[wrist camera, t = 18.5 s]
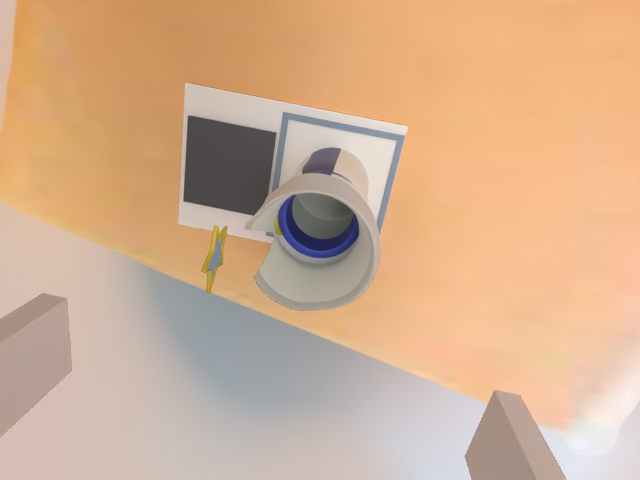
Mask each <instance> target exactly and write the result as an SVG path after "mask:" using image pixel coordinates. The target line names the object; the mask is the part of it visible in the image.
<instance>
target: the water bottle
mask: <svg viewBox="0 0 640 480" xmlns="http://www.w3.org/2000/svg"><path fill="white" fill-rule="evenodd" d="M368 189H369V180H368V175H367V171H366V169H365V167H364V165H363V164H362V162H361V161H360V160H359V159H358V158H357V157H356V156H355V155H354V154H352V153H350V152H349V151H347V150H344V149H340V148H333V147H330V148H323V149H320V150H317V151H315V152H313V153H312V154H310V155H309V156H308V157H307V158H306V159H305V160H304V161H303V162H302V164H301V165H300V167H299V169H298V170H297V171H296V173H295V174H294V175H293V176H292V178H291V179H290V180H288V181H286V182H285V183H284V184H282V185H281V186H280V187H279V188H277V189H276V190H275V191H273V192H272V193H270V194H269V195H268V196H267V198H266V200H265V202H264V204H263V205H262V207H261V208H260V209H259V210H258V212H257V213H256V214H255V215H254V216H253V217H252V218H251V219H250V220H249V221H248V223H247V224H246V226H245V228H244V229H246V230H254V231H265V232H272V233H273V234H274V236H275V238H274V241H273V243H272V245H271V248H270V250H269V252H268V254H267V256H266V258H265V260H264V262H263V264H262V265H261V267H260V269H259V270H258V272H257V273H256V275H255V276H254V279H255V281H256V283H257V284H258V286H259V287H260V289H261V290H262V291H263V292H264V293H265V294H266V295H267V296H269V297H270V298H271V299H272V300H274V301H275V302H277V303H279V304H281V305H283V306H285V307H287V308H290V309H294V310H300V311H316V310H326V309H332V308H337V307H340V306H343V305H345V304H348V303H350V302H352V301H354V300H355V299H357V298H358V297H359V296H361V295H362V294H363V293H364V292H365V290H366V289H367V288H368V287H369V285H370V284H371V282H372V280H373V278H374V276H375V273H376V271H377V268H378V264H379V259H380V236H379V231H378V227H377V223H376V220H375V218H374V215H373V213H372V211H371V209H370V208H369V206H368ZM301 193H318V194H323V195H327V196H330V197H333V198H335V199H337V200H339V201H341V202H342V203H344V204H345V205H347V206H348V207H349V208H350V209H352V211H353V214H352V215H351V216H349V217H347V218H344V219H340V220H324V219H321V218H318V217H316V216H314V215H312V214H311V213H310V212H308V211H307V210H306V209H305V208H304V207H303V205H302V204H301V202H300V200H299V198H298V196H297V194H301ZM227 228H228V227H227V226H224V227H223V229H222V231H221V232H220V233H219V227H218V226H216V225H215V226H214V228H213V234H212V240H211V247H210V251H209V254H208V256H207V259H206V261H205V263H204V266H203V268H202V272H204V273H206V272H207V288H206V292H207V293H210V292H211V288H212V285H213V282H214V278H215V274H216V271H217V268H218V267H219V266H220V265H222V264H223V246H224V242H225V238H226V233H227Z"/></svg>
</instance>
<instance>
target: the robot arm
mask: <svg viewBox="0 0 640 480" xmlns="http://www.w3.org/2000/svg"><path fill="white" fill-rule="evenodd" d="M71 371H72V362H71V347H70V334H69V319H68V306H67V299H66V298H63V297H58V296H53V295H49V294H44V293H43V294H41V295H39V296H37V297H36V298H34V299H32V300H31V301H29V302H28V303H26V304H24V305H23V306H21V307H19V308H18V309H16V310H14V311H13V312H11V313H9V314H8V315H6V316H4V317H3V318H1V319H0V437H1V436H2V435H3V434H4V433H5V432H7V431H8V429H10V428H11V427H12V426H13V425H14V424H15V423H16V422H17V421H18V420H19V419H21V417H23V416H24V415H25V414H26V413H27V412H28V411H29V410H30V409H31V408H32V407H33V406H34V405H35V404H36V403H38V402H39V401H40V400H41V399H42V398H43V397H44V396H45V395H46V394H47V393H48V392H49V391H50V390H51V389H53V388H54V387H55V386H56V385H57V384H58V383H59V382H60V381H61V380H62V379H63V378H64V377H65V376H66V375H68V374H69V373H70V372H71ZM465 459H466V462H467V465H468V468H469V472H470V475H471V479H472V480H567V479H566V477H565V476H564V474H563V472H562V470H561V468H560V466H559V465H558V463H557V461H556V459H555V457H554V456H553V454H552V452H551V450H550V449H549V447H548V445H547V443H546V441H545V439H544V437H543V436H542V434H541V432H540V430H539V428H538V427H537V425H536V423H535V421H534V419H533V418H532V416H531V414H530V412H529V410H528V409H527V407H526V405H525V403H524V401H523V400H522V398H521V396H520V395H516V394H511V393H507V392H502V391H497V390H494V392H493V394H492V396H491V399H490V401H489V403H488V405H487V408H486V410H485V412H484V414H483V417H482V419H481V421H480V423H479V426H478V428H477V430H476V432H475V435H474V437H473V439H472V441H471V444H470V446H469V448H468V450H467V452H466V455H465Z"/></svg>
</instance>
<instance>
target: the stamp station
mask: <svg viewBox="0 0 640 480" xmlns="http://www.w3.org/2000/svg"><path fill="white" fill-rule="evenodd" d="M407 129H408V126H405V125H399V124H394V123H389V122H384V121H379V120H374V119H369V118H364V117H359V116H354V115H349V114H343V113H338V112H333V111H328V110H323V109H318V108H313V107H308V106H303V105H298V104H293V103H287V102H282V101H277V100H272V99H267V98H262V97H257V96H252V95H247V94H242V93H237V92H231V91H226V90H221V89H216V88H211V87H206V86H201V85H196V84H191V83H185V98H184V118H183V138H182V157H181V177H180V197H179V217H178V224H179V225H184V226H189V227H194V228H199V229H204V230H209V231H213V228H214V226H215V225H216V226H218V227H219V233H220V232H221V231H222V229H223V227H224V226H227V227H228V228H227V233H226V234H228V235H233V236H238V237H242V238H247V239H252V240H257V241H262V242H267V243H271V244H272V243H273V241H274V238H275V236H274V234H273V233H272V232H265V231H254V230H246V229H244V228H245V226H246V224H247V223H248V221H249V220H250V219H251V218H252V217H253V216H254V215H255V214H256V213H257V212H258V210H259V209H260V208H261V207H262V205H263V204H264V202H265V200H266V198H267V196H268V195H269V194H270V193H272V192H273V191H275V190H276V189H277V188H279V187H280V186H281V185H282V184H284V183H285V182H286V181H288V180H290V179H291V178H292V176H293V175H294V174H295V173H296V171H297V170H298V169H299V167H300V165H301V164H302V162H303V161H304V160H305V159H306V158H307V157H308V156H309V155H310V154H312V153H313V152H315V151H317V150H320V149H323V148H330V147H333V148H340V149H344V150H347V151H349V152H350V153H352V154H354V155H355V156H356V157H357V158H358V159H359V160H360V161H361V162H362V164H363V165H364V167H365V169H366V171H367V175H368V180H369V189H368V206H369V208H370V209H371V211H372V213H373V215H374V218H375V220H376V223H377V227H378V231H379V236H380V235H381V231H382V227H383V223H384V219H385V215H386V211H387V207H388V203H389V199H390V196H391V192H392V188H393V184H394V180H395V176H396V172H397V168H398V164H399V160H400V156H401V153H402V149H403V145H404V141H405V137H406V133H407ZM297 196H298V198H299V200H300V202H301V204H302V205H303V207H304V208H305V209H306V210H307V211H308V212H310V213H311V214H312V215H314V216H316V217H318V218H321V219H324V220H340V219H344V218H347V217H349V216H351V215H352V214H353V211H352V209H350V208H349V207H348V206H347V205H345V204H344V203H342V202H341V201H339V200H337V199H335V198H333V197H330V196H327V195H323V194H318V193H301V194H297Z"/></svg>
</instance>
